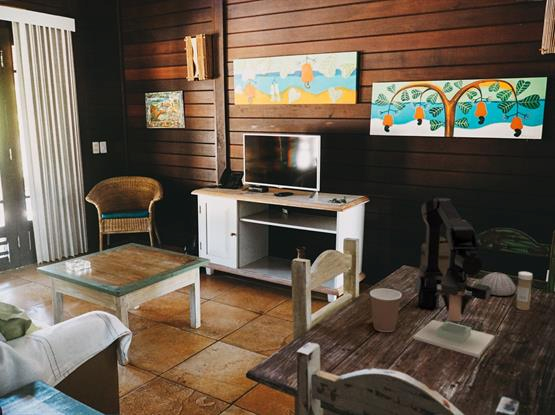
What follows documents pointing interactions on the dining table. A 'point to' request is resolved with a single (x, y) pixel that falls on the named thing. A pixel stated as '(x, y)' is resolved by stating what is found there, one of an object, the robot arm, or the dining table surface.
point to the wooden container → (443, 256)
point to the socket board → (454, 337)
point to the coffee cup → (385, 308)
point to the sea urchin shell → (499, 284)
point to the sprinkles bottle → (524, 290)
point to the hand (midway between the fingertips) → (455, 312)
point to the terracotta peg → (455, 307)
